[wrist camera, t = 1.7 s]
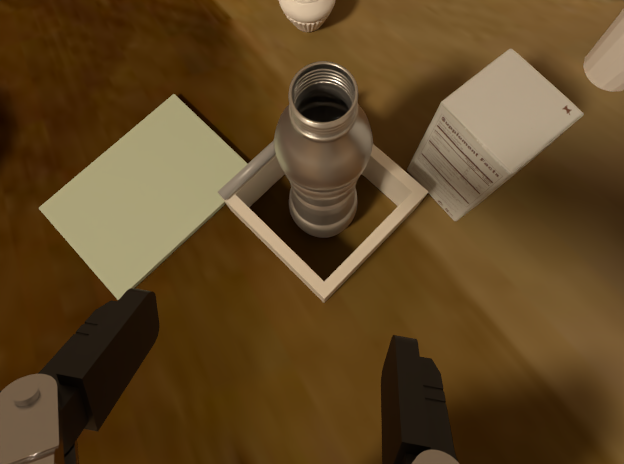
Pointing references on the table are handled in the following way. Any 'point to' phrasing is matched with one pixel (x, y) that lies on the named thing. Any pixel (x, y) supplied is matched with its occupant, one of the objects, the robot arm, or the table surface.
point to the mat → (144, 195)
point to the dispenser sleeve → (240, 198)
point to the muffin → (307, 12)
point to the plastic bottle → (323, 147)
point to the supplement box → (489, 133)
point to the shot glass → (608, 58)
